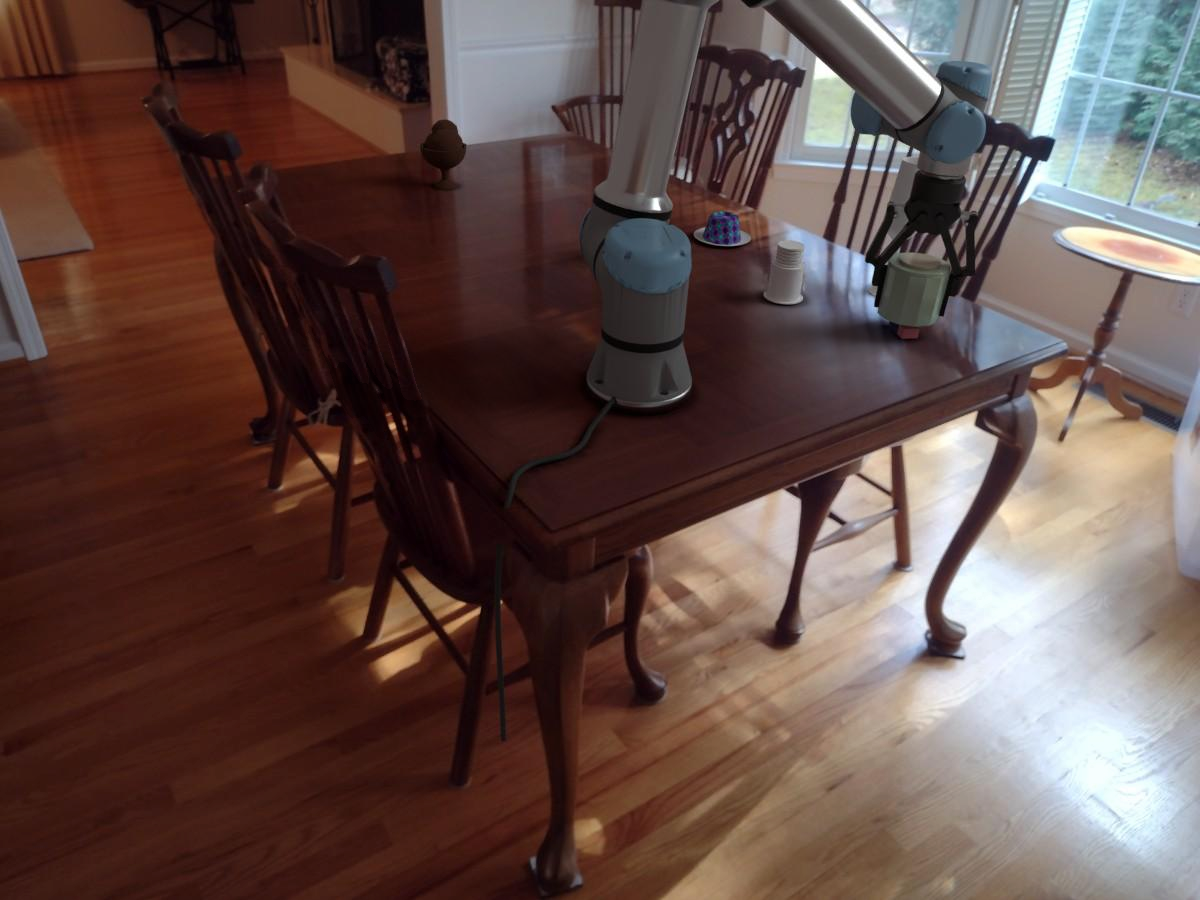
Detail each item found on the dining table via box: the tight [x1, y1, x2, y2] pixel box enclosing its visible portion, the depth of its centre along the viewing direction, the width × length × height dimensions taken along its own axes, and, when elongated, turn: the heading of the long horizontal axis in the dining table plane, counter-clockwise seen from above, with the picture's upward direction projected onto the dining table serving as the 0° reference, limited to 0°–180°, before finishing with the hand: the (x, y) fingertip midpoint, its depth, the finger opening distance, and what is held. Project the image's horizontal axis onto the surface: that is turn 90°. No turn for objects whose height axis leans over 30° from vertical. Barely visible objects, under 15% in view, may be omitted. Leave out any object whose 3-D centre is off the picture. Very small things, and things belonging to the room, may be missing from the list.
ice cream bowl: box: [419, 119, 467, 191], centre depth 204 cm, size 11×11×15 cm
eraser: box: [888, 321, 921, 340], centre depth 146 cm, size 6×3×2 cm, turn 8°
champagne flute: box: [867, 156, 919, 297], centre depth 155 cm, size 7×7×24 cm
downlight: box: [763, 239, 807, 305], centre depth 154 cm, size 8×7×10 cm
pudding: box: [693, 210, 752, 247], centre depth 181 cm, size 12×12×5 cm
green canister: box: [876, 252, 952, 328], centre depth 142 cm, size 10×10×10 cm
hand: (908, 308), depth 144 cm, fingers closed on green canister, 10 cm apart
